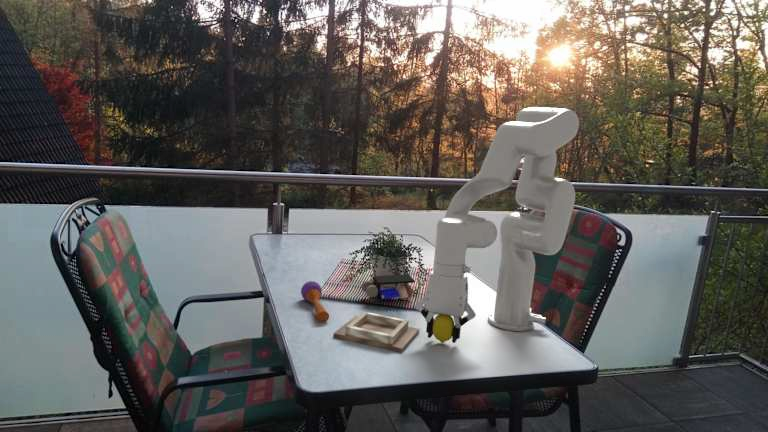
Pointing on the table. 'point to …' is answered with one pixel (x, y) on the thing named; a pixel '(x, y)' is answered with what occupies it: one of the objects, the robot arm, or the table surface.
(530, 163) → the robot arm
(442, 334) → the lemon
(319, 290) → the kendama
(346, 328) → the jig board
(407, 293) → the figurine character
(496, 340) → the table surface
